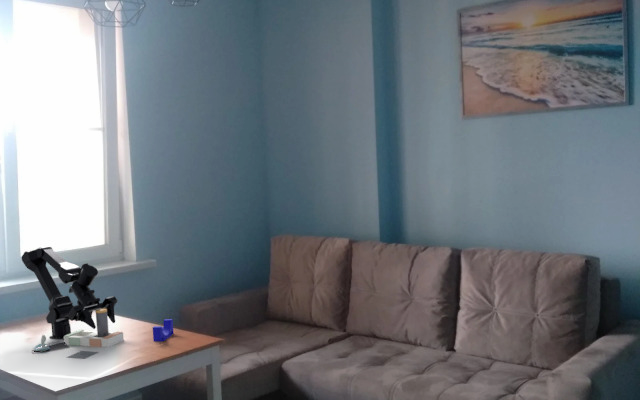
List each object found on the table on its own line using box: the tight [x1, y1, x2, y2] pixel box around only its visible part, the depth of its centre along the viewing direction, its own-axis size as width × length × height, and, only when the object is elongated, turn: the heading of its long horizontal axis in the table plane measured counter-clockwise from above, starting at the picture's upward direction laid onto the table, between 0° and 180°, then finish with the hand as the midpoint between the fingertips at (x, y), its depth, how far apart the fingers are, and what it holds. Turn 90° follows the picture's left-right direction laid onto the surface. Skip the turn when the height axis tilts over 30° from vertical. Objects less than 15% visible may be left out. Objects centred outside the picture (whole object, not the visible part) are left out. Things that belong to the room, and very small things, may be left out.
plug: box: [95, 309, 110, 337], centre depth 250 cm, size 4×4×13 cm
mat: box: [65, 350, 100, 360], centre depth 236 cm, size 8×8×1 cm
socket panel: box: [63, 329, 125, 348], centre depth 252 cm, size 20×9×4 cm, turn 70°
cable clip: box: [152, 318, 174, 342], centre depth 254 cm, size 12×4×6 cm, turn 170°
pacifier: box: [31, 334, 51, 354], centre depth 244 cm, size 7×6×6 cm
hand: (104, 325), depth 249 cm, fingers open, 8 cm apart
